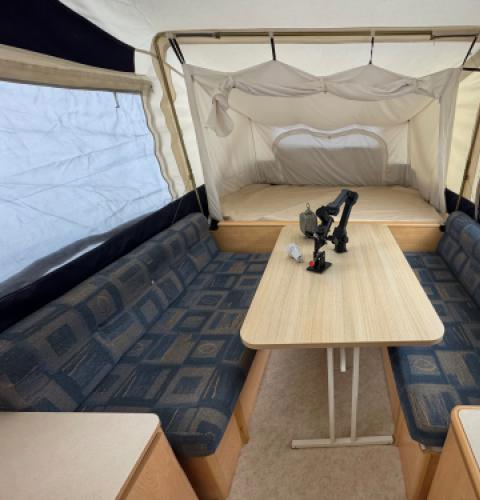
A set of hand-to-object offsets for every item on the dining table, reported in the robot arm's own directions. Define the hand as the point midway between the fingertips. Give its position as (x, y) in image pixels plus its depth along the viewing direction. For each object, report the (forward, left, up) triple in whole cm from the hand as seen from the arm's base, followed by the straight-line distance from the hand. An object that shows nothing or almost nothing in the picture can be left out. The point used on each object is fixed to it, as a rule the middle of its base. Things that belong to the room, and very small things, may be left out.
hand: (315, 251), depth 139 cm
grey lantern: (-18, -44, -11) cm, 49 cm away
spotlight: (+3, -19, -11) cm, 22 cm away
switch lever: (-1, 0, -6) cm, 6 cm away
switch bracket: (-4, -2, -11) cm, 12 cm away
